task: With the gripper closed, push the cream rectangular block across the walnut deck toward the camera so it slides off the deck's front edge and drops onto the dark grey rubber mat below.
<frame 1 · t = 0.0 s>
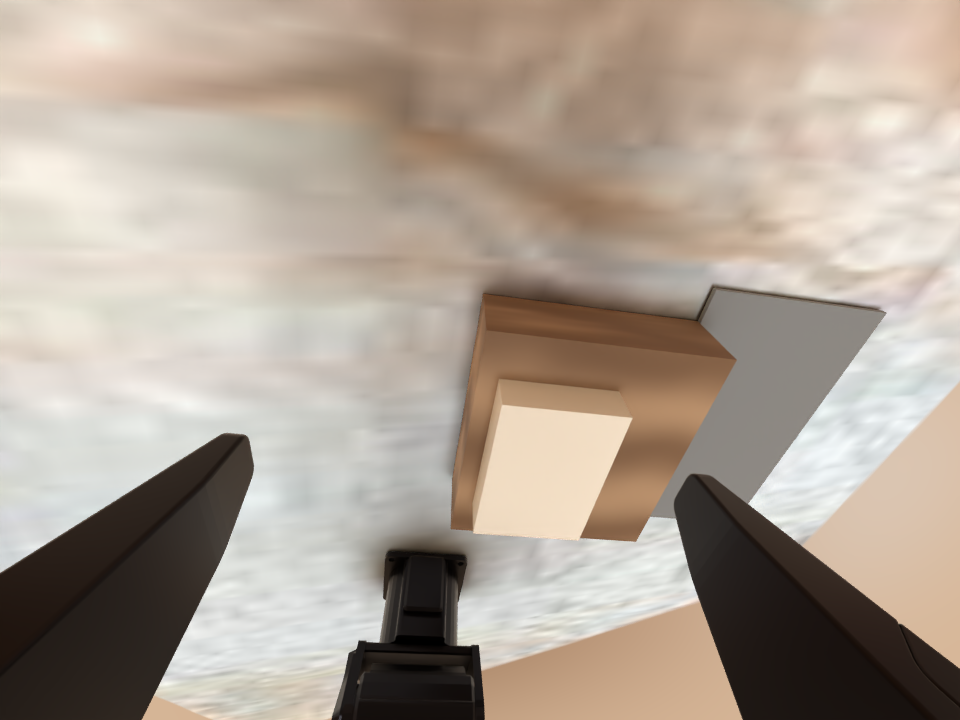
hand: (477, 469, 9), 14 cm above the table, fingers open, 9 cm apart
mat: (724, 425, 28), on the table
deck: (560, 409, 27), on the table
cream rectangular block: (539, 452, 23), point 4 cm above the table, touching deck
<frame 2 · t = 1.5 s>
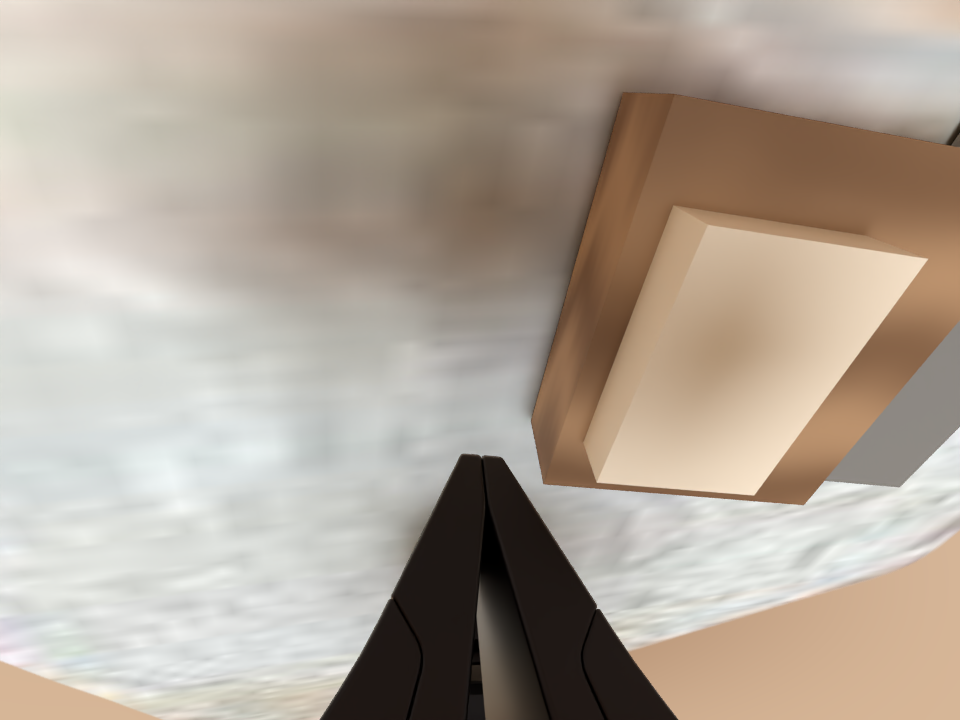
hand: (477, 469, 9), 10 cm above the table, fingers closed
mat: (929, 339, 19), on the table
deck: (703, 309, 18), on the table
cream rectangular block: (704, 353, 15), point 4 cm above the table, touching deck
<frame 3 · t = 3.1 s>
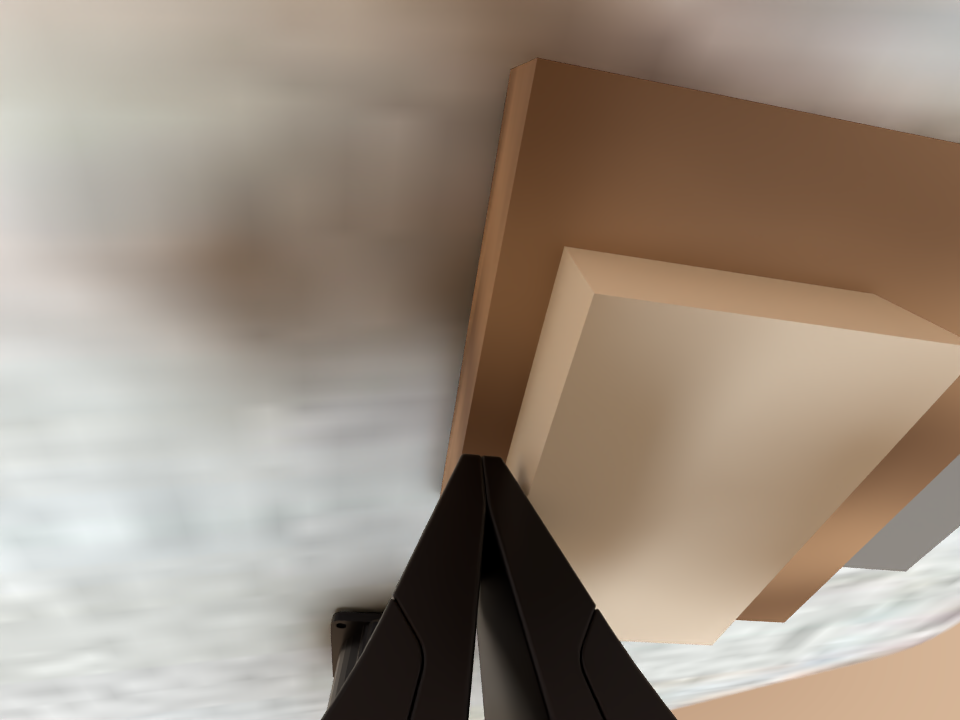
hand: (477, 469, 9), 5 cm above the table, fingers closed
mat: (949, 405, 15), on the table
deck: (651, 368, 14), on the table
cream rectangular block: (637, 452, 10), point 4 cm above the table, touching gripper
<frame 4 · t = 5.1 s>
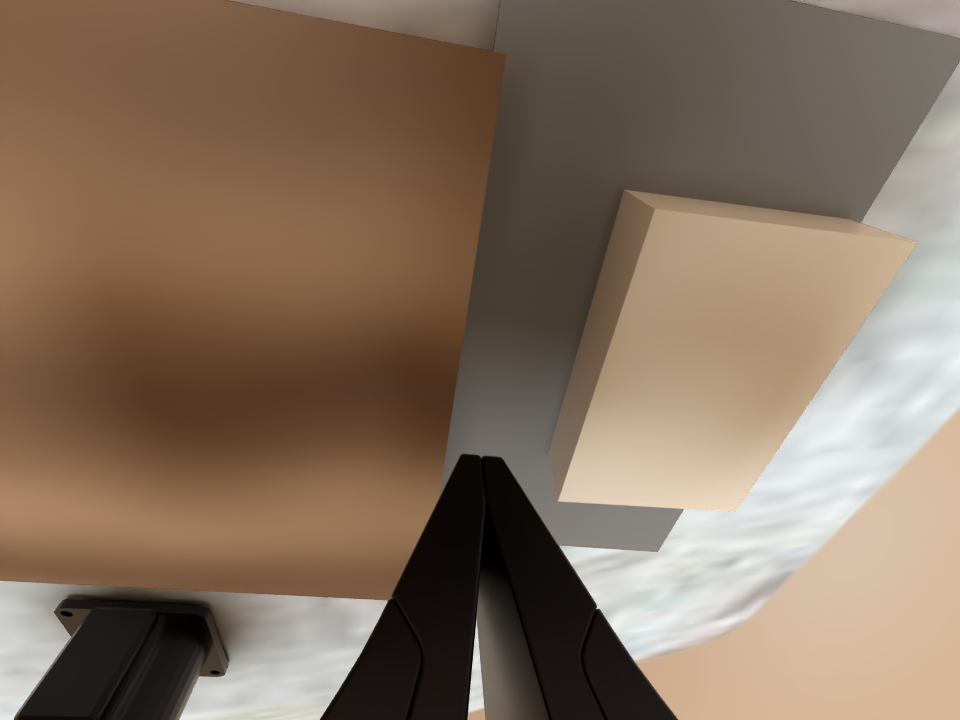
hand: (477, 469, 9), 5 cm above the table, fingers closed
mat: (610, 362, 13), on the table
deck: (245, 319, 12), on the table
cream rectangular block: (704, 395, 11), point 2 cm above the table, tilted 180°, touching mat
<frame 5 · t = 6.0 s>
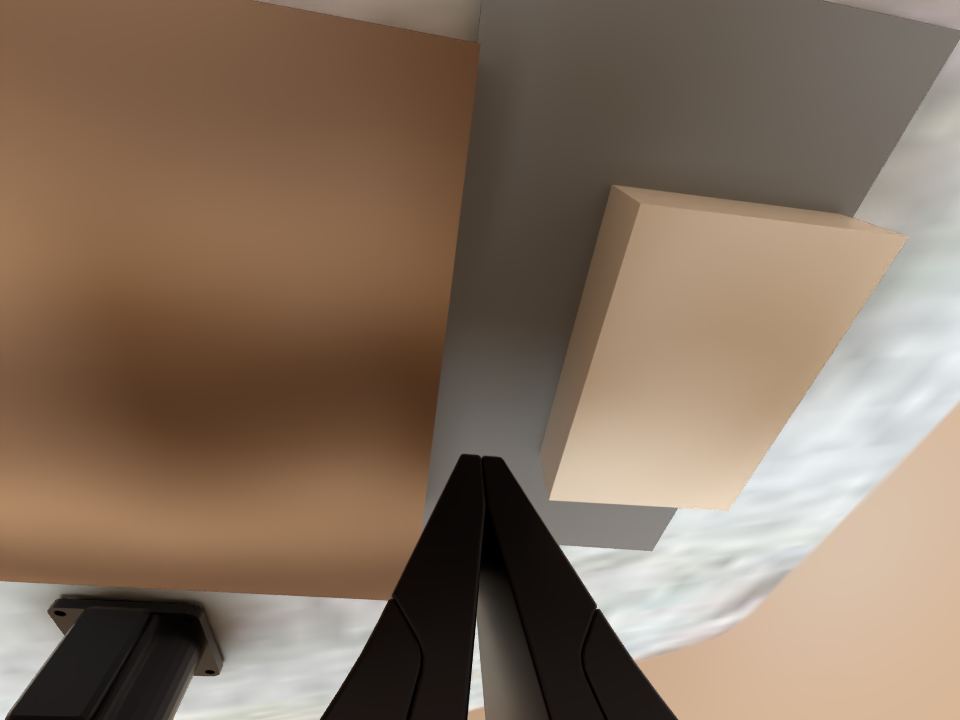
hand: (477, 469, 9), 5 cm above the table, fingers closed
mat: (601, 359, 13), on the table
deck: (232, 317, 12), on the table
cream rectangular block: (694, 393, 11), point 2 cm above the table, tilted 180°, touching mat
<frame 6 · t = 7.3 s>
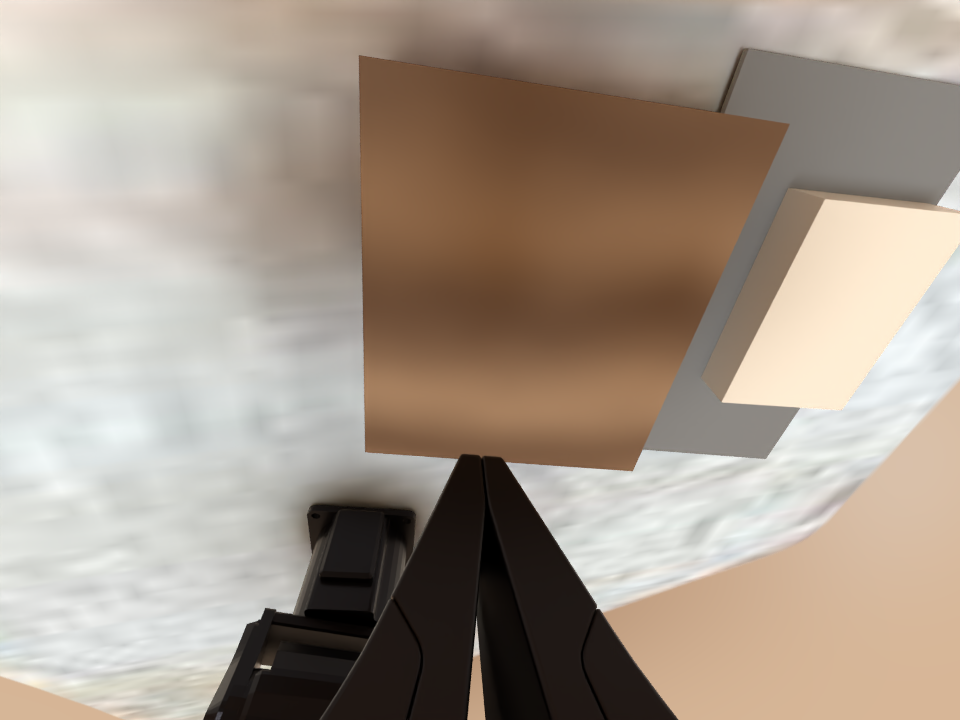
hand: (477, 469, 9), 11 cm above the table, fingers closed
mat: (755, 306, 20), on the table
deck: (521, 279, 19), on the table
cream rectangular block: (834, 320, 18), point 2 cm above the table, tilted 180°, touching mat
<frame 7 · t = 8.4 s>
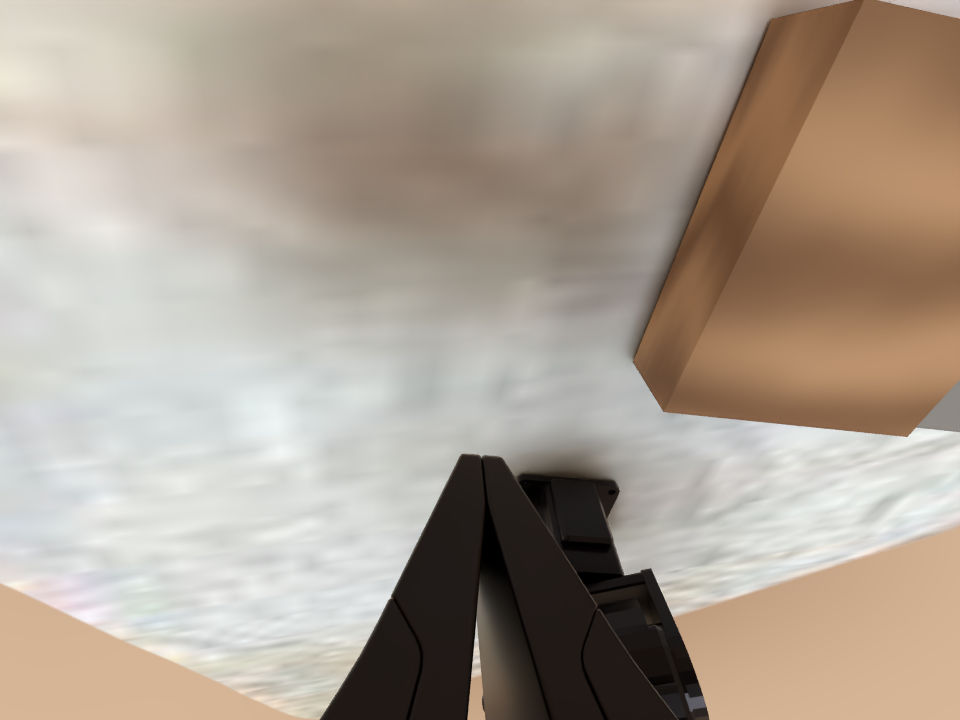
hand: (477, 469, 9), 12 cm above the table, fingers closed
deck: (815, 244, 19), on the table
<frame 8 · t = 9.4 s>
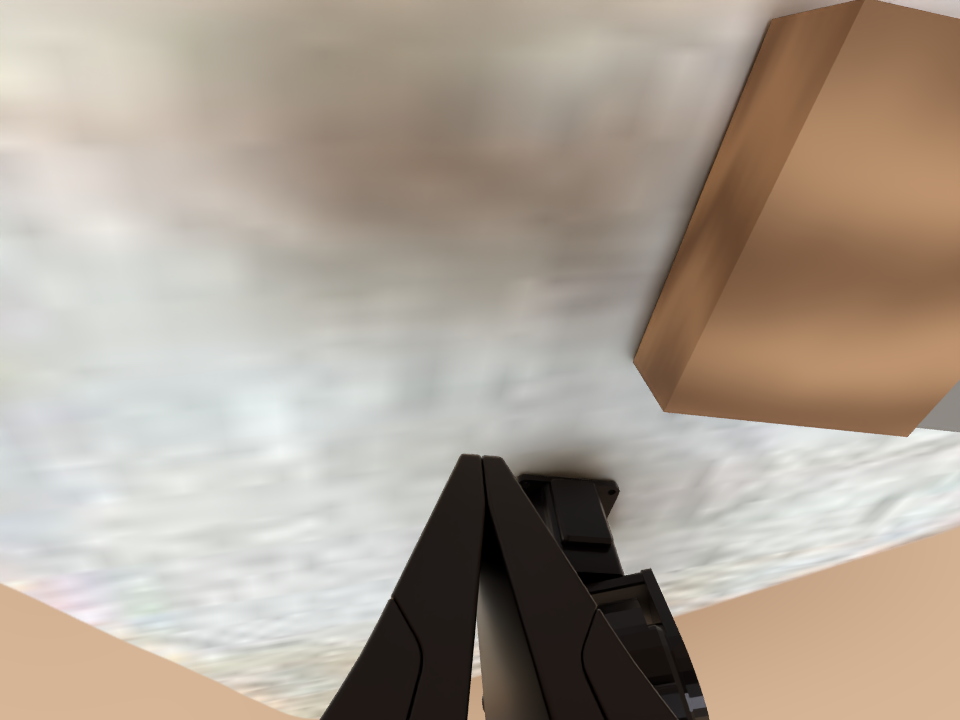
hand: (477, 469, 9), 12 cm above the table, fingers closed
deck: (815, 244, 19), on the table
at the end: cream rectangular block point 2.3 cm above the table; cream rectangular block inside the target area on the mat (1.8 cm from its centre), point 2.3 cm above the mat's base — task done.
